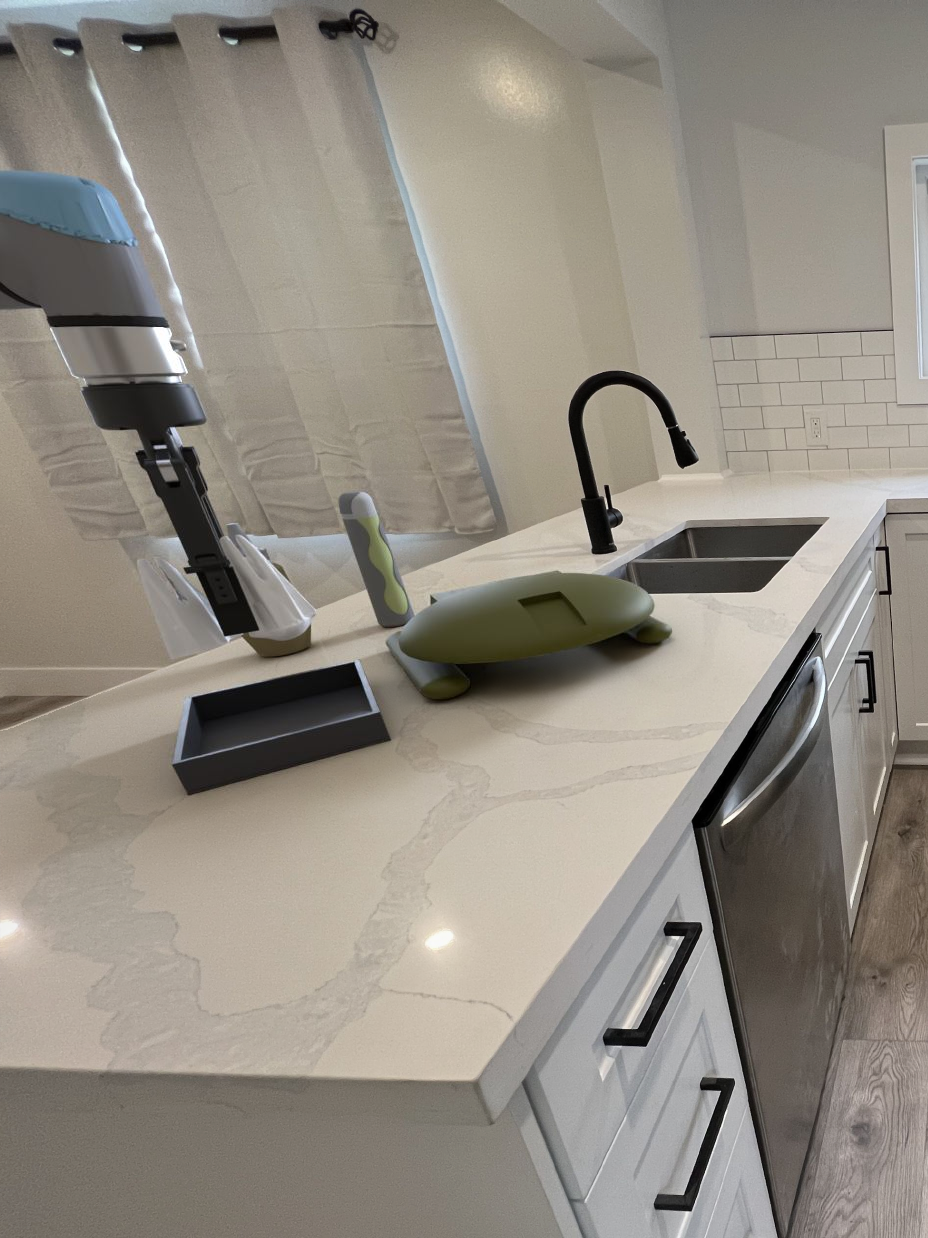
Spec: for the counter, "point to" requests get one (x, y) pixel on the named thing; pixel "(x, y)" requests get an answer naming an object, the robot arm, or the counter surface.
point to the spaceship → (518, 624)
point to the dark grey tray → (275, 725)
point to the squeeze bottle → (263, 644)
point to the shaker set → (191, 615)
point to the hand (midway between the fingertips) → (241, 625)
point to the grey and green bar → (375, 559)
